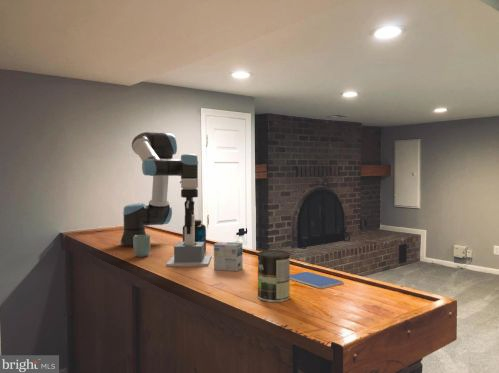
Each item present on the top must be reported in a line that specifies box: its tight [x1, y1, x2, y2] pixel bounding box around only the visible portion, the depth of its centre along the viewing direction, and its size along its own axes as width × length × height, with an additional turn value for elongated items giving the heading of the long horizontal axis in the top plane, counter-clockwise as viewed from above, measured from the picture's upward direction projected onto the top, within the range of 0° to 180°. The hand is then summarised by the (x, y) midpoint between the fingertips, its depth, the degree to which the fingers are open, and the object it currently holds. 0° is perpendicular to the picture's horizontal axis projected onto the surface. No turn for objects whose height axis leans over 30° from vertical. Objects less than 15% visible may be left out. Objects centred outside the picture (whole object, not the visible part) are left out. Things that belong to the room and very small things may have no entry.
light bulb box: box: [213, 241, 244, 272], centre depth 161 cm, size 11×7×11 cm, turn 71°
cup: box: [133, 234, 151, 258], centre depth 187 cm, size 8×8×10 cm
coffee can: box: [257, 249, 291, 303], centre depth 122 cm, size 10×10×14 cm
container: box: [182, 219, 207, 253], centre depth 199 cm, size 12×12×16 cm
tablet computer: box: [290, 271, 344, 290], centre depth 143 cm, size 19×13×1 cm, turn 36°
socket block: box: [165, 241, 212, 267], centre depth 175 cm, size 18×18×8 cm
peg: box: [185, 214, 196, 245], centre depth 175 cm, size 4×4×14 cm
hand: (189, 240), depth 175 cm, fingers closed on peg, 4 cm apart
